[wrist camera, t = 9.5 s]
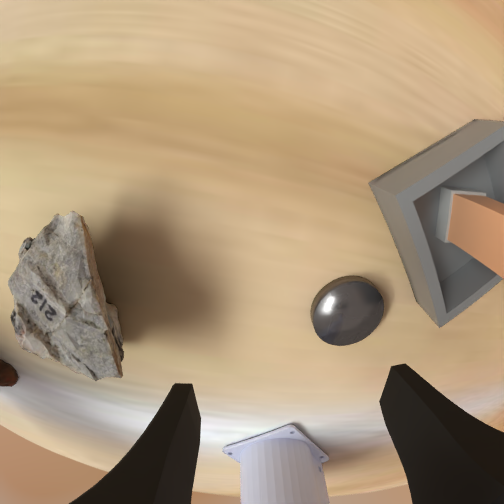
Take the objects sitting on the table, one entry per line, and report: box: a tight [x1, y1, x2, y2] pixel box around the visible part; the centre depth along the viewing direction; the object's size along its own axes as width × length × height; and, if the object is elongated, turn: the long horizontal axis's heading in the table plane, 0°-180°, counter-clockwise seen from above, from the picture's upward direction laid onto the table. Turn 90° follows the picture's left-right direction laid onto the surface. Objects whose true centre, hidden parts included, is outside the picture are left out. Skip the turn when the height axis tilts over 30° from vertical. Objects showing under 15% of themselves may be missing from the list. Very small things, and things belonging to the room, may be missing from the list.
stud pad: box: [311, 276, 384, 346], centre depth 20 cm, size 5×5×1 cm
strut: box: [435, 186, 504, 279], centre depth 14 cm, size 3×3×7 cm
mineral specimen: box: [8, 211, 124, 381], centre depth 17 cm, size 10×8×10 cm
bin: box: [369, 119, 504, 328], centre depth 16 cm, size 10×10×4 cm
